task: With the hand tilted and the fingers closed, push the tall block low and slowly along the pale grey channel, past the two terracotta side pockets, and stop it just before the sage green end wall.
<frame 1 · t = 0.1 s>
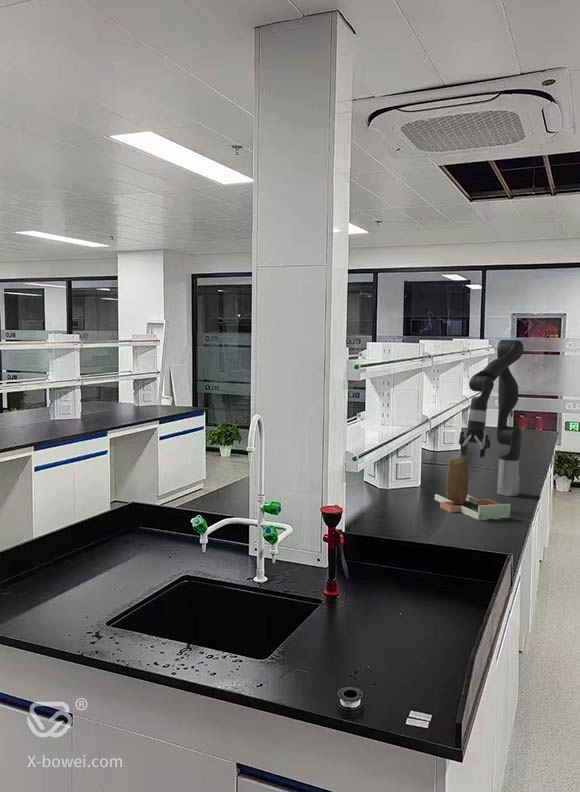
hand: (472, 456, 300), 23 cm above the table, tool pointing down, fingers open, 8 cm apart
block: (456, 502, 308), on the table
trap channel: (470, 508, 298), on the table
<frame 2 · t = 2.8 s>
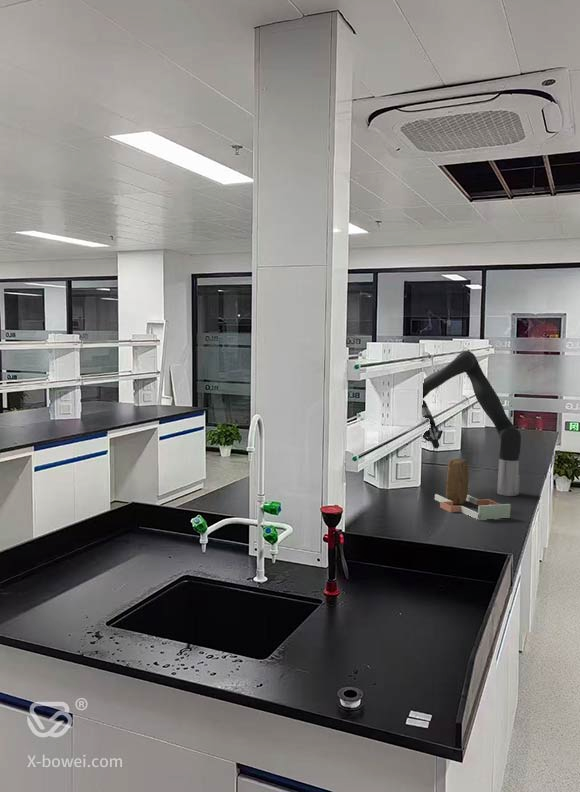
hand: (437, 447, 324), 22 cm above the table, tool tilted 45°, fingers closed
nothing on the table moved.
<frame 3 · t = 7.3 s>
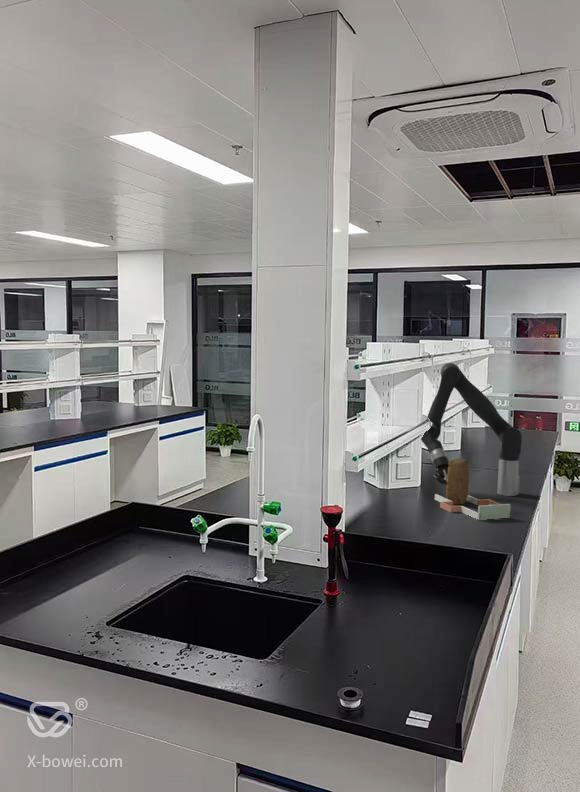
hand: (451, 490, 312), 4 cm above the table, tool tilted 45°, fingers closed
block: (457, 503, 308), on the table, touching gripper
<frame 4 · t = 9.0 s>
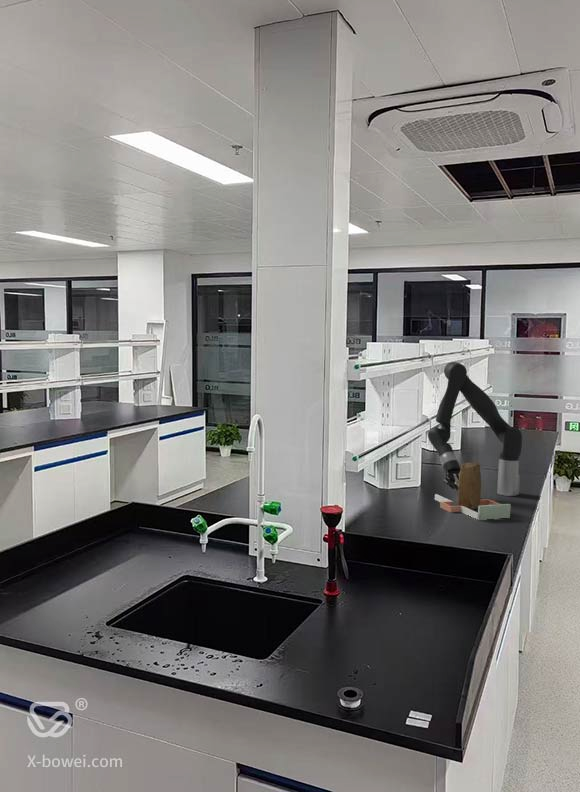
hand: (462, 495, 303), 4 cm above the table, tool tilted 45°, fingers closed
block: (468, 508, 299), on the table, touching gripper
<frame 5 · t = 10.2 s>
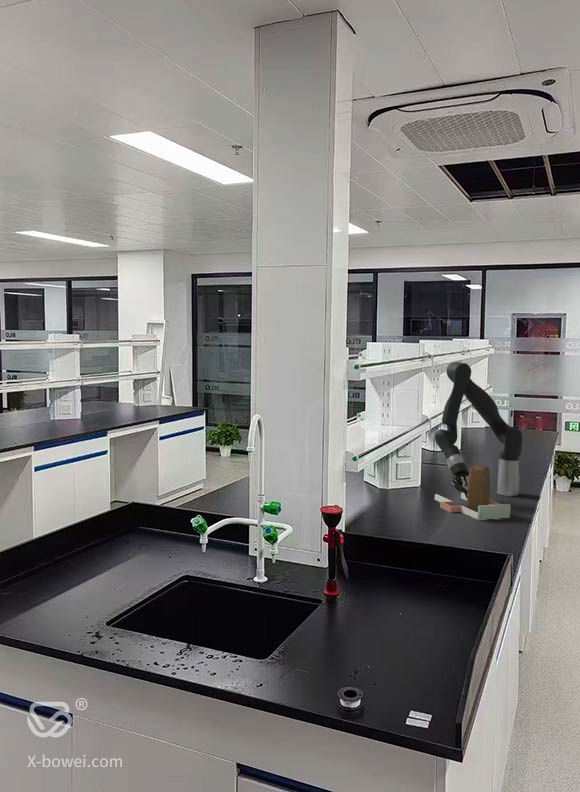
hand: (470, 499, 297), 4 cm above the table, tool tilted 45°, fingers closed
block: (478, 511, 293), on the table, touching gripper
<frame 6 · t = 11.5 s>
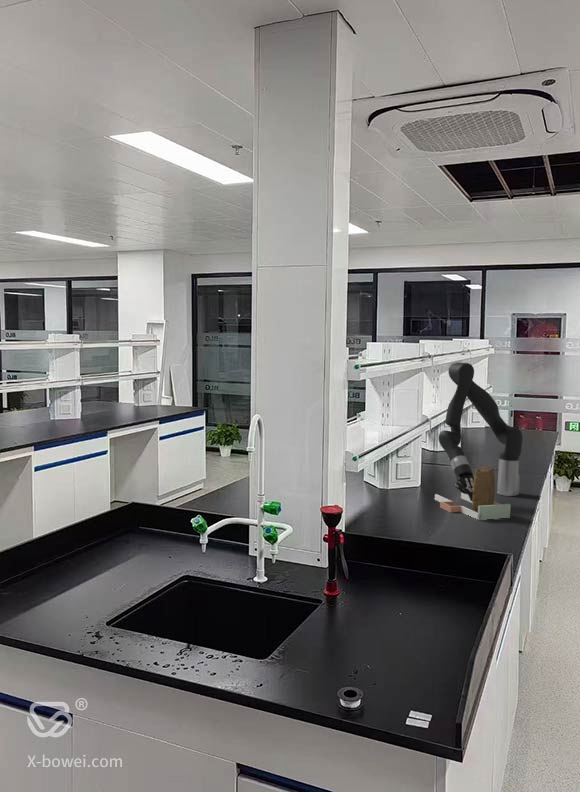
hand: (474, 501, 293), 4 cm above the table, tool tilted 45°, fingers closed
block: (483, 513, 290), on the table, touching gripper, trap channel
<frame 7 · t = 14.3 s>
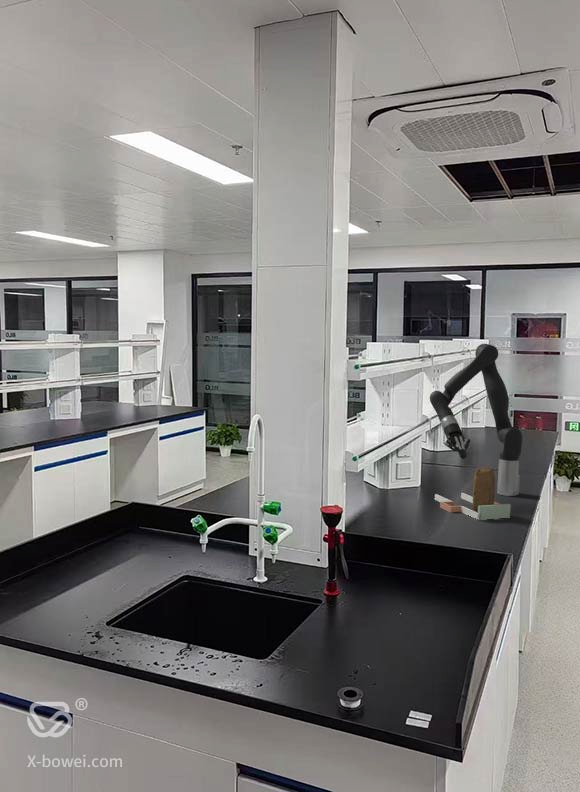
hand: (464, 457, 302), 22 cm above the table, tool tilted 45°, fingers closed
block: (483, 513, 290), on the table
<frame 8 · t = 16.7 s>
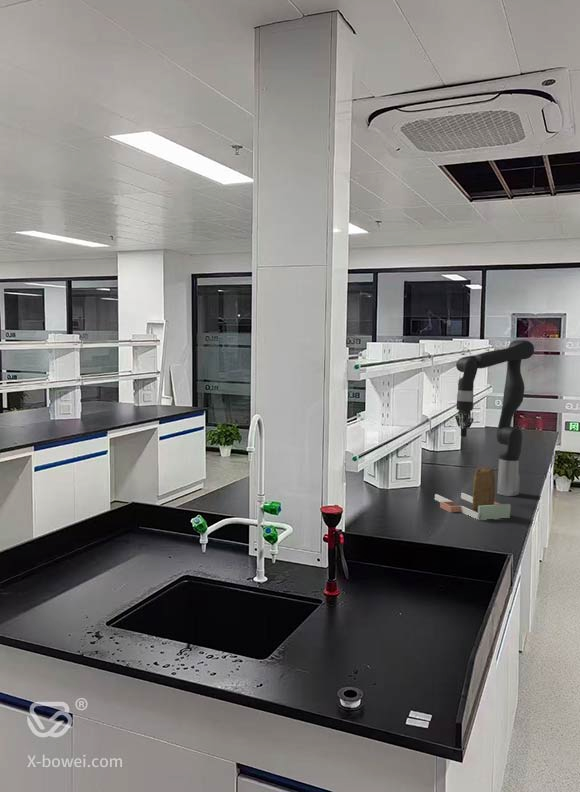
hand: (463, 436, 318), 29 cm above the table, tool pointing down, fingers closed
nothing on the table moved.
at the end: block inside the target area on the trap channel (1.8 cm from its centre), point 0.0 cm above the trap channel's base; block tilted 0° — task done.
